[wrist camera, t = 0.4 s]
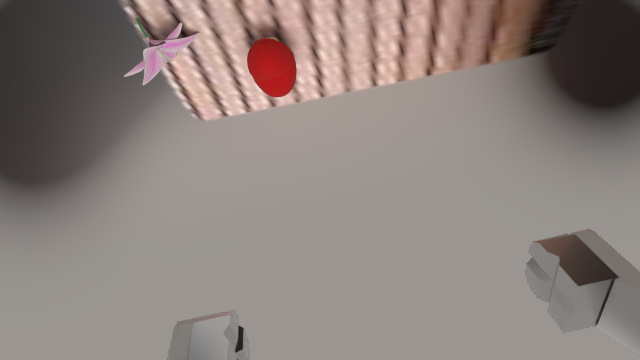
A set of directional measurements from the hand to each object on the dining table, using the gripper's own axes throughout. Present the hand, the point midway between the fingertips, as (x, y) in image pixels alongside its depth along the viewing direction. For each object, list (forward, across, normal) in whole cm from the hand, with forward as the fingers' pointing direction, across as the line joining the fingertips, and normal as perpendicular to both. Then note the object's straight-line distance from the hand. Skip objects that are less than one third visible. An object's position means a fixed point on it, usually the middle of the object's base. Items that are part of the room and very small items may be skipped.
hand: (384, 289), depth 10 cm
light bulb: (+57, +3, +6) cm, 58 cm away
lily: (+58, +19, +2) cm, 61 cm away
